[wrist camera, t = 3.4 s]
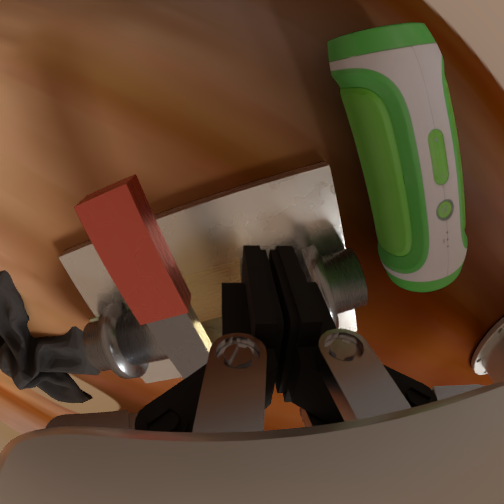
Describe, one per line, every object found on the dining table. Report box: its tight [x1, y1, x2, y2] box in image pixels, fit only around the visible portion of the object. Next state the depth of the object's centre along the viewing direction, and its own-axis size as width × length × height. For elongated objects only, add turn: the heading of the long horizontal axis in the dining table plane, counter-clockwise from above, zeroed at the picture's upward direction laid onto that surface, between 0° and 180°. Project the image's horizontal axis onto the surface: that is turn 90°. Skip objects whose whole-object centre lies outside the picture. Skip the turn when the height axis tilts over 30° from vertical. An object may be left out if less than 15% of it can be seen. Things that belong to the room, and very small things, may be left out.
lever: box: [74, 174, 212, 379], centre depth 16 cm, size 14×4×3 cm, turn 17°
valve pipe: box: [59, 161, 368, 383], centre depth 23 cm, size 23×16×7 cm
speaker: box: [327, 22, 468, 292], centre depth 18 cm, size 18×7×8 cm, turn 21°
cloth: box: [0, 270, 100, 403], centre depth 27 cm, size 22×19×6 cm
